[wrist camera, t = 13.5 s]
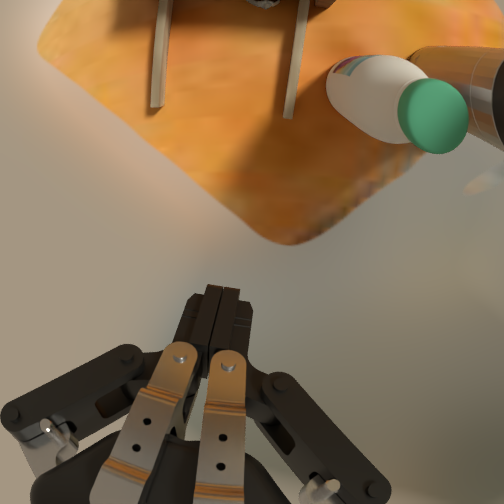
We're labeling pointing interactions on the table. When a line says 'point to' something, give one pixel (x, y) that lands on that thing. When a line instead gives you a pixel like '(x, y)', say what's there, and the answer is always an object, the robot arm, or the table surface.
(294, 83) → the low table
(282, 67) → the table surface
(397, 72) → the milk bottle
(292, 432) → the robot arm
